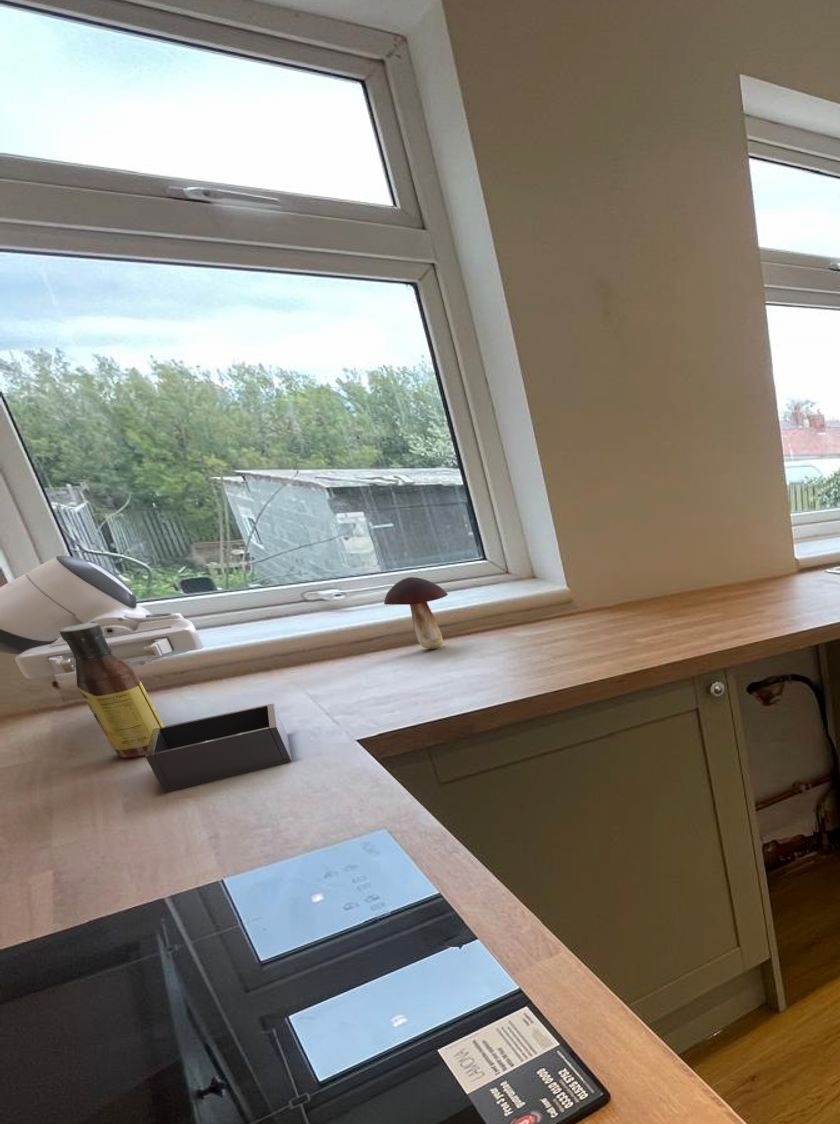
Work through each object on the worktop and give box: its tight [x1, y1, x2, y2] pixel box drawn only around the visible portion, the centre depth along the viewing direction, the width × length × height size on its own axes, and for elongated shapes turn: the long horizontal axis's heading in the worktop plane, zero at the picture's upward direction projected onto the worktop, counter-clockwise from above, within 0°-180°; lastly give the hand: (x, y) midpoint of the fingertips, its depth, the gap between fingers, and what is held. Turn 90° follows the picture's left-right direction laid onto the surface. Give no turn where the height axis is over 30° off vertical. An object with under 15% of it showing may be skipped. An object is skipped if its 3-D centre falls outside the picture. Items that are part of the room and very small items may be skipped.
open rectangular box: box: [144, 703, 292, 794], centre depth 117 cm, size 14×14×6 cm
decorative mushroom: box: [383, 576, 449, 650], centre depth 166 cm, size 11×11×15 cm
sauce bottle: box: [59, 623, 165, 759], centre depth 119 cm, size 7×6×20 cm
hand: (109, 659), depth 123 cm, fingers open, 8 cm apart
